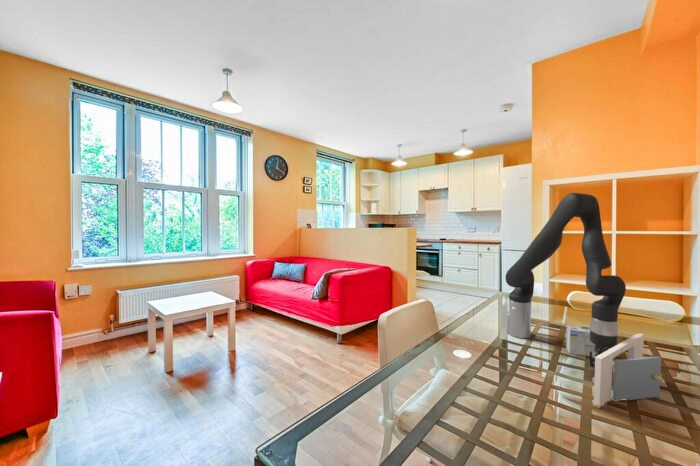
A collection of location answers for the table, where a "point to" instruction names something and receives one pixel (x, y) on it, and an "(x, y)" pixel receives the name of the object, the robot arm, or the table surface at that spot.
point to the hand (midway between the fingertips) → (601, 375)
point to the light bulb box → (578, 340)
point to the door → (637, 378)
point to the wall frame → (606, 365)
